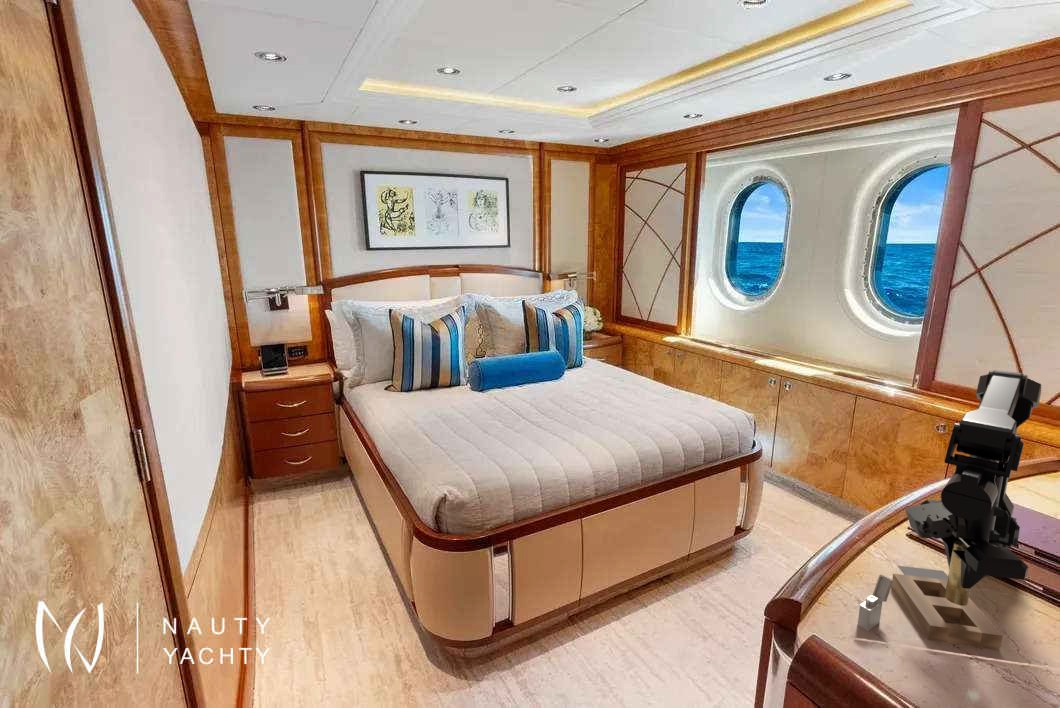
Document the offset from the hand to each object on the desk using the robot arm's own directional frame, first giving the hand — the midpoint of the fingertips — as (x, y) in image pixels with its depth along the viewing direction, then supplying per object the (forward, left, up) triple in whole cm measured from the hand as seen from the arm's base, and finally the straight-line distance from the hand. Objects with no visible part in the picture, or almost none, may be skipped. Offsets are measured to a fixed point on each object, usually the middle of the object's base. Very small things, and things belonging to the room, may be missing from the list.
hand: (959, 581), depth 84 cm
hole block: (0, -3, -10) cm, 10 cm away
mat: (-3, -14, -10) cm, 17 cm away
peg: (0, 0, -4) cm, 4 cm away
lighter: (+12, +1, -10) cm, 16 cm away
